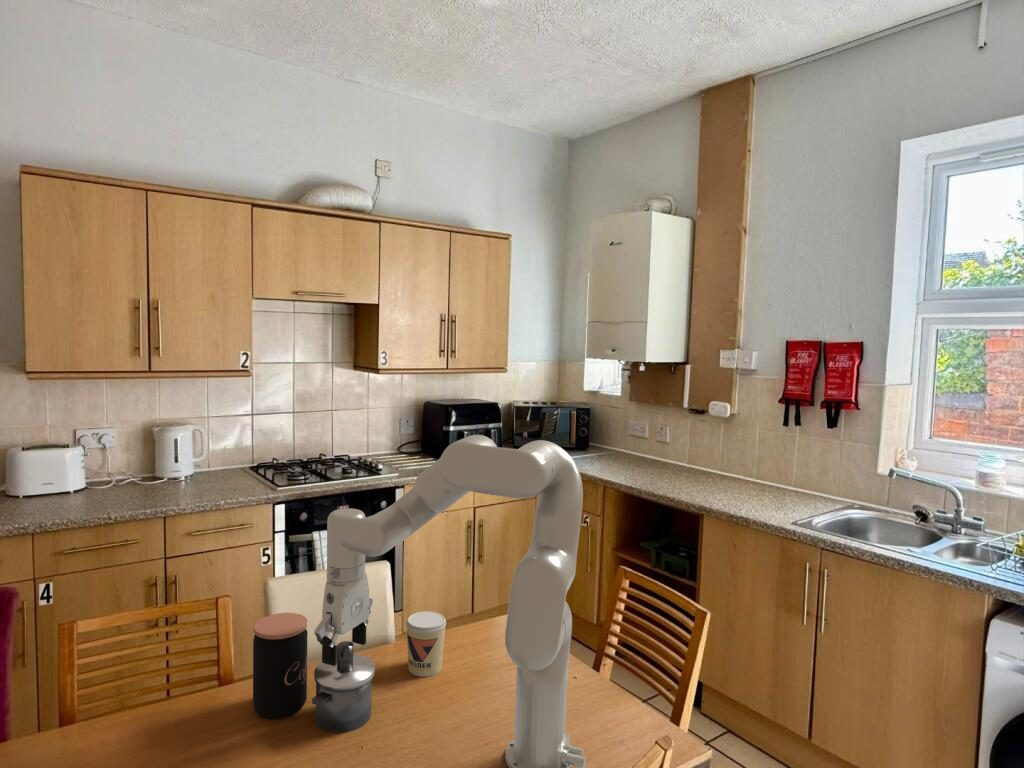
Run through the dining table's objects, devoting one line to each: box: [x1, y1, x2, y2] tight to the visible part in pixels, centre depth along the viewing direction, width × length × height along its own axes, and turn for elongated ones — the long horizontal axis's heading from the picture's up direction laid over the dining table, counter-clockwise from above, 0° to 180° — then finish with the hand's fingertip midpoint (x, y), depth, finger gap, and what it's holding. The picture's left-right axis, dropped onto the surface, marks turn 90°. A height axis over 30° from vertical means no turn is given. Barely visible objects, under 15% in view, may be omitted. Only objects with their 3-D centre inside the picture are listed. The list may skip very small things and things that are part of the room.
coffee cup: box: [405, 610, 447, 678], centre depth 151 cm, size 9×9×12 cm
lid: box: [313, 640, 376, 691], centre depth 131 cm, size 12×12×6 cm
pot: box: [311, 678, 373, 734], centre depth 131 cm, size 12×17×9 cm
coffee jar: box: [252, 612, 309, 721], centre depth 134 cm, size 11×11×18 cm
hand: (344, 653), depth 131 cm, fingers open, 9 cm apart
